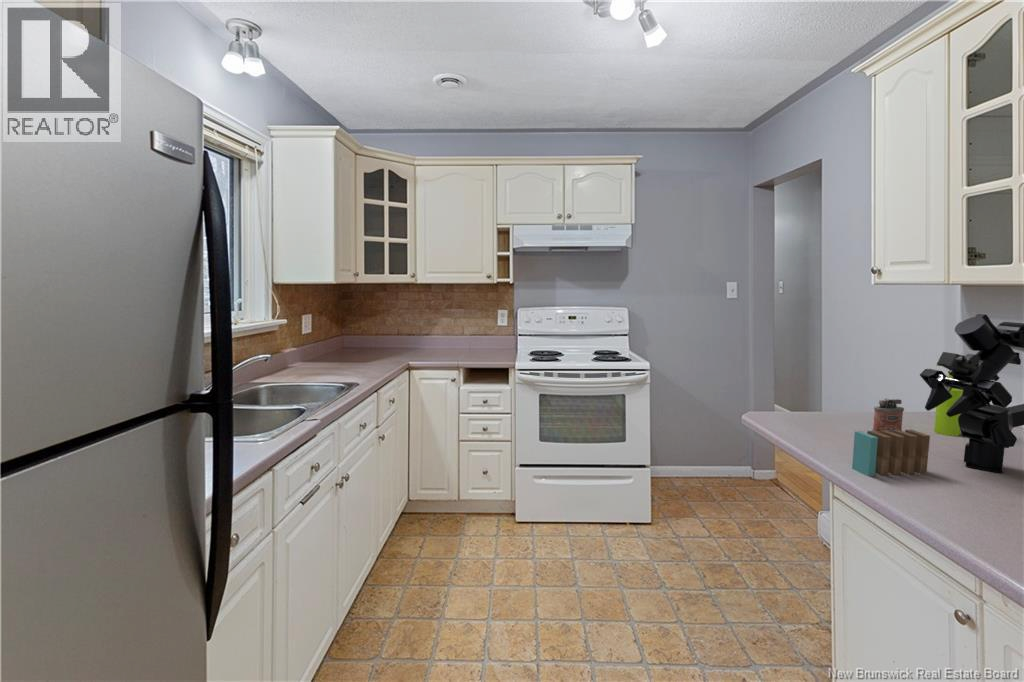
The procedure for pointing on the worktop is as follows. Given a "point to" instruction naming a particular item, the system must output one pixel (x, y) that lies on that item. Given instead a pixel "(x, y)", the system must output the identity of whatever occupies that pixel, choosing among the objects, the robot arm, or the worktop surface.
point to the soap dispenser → (944, 422)
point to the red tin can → (888, 415)
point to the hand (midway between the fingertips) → (936, 412)
